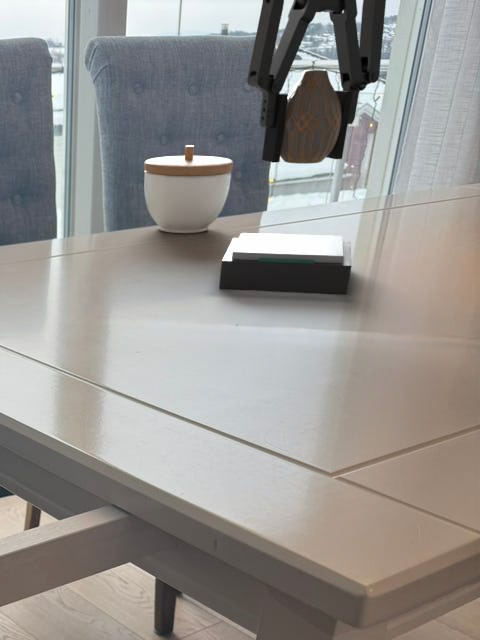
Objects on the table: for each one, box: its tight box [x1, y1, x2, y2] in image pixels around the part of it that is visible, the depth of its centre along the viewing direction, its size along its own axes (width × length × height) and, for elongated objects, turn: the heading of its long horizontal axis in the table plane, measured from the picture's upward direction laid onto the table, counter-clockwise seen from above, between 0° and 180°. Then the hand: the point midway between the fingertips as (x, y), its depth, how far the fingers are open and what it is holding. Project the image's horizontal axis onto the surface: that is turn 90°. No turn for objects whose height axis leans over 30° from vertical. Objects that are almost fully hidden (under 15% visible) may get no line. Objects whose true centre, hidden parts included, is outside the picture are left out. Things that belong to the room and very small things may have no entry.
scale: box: [218, 232, 352, 295], centre depth 110 cm, size 14×14×4 cm
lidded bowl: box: [143, 144, 234, 234], centre depth 136 cm, size 13×13×11 cm
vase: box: [280, 69, 341, 165], centre depth 102 cm, size 7×7×9 cm
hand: (301, 159), depth 104 cm, fingers closed on vase, 7 cm apart
